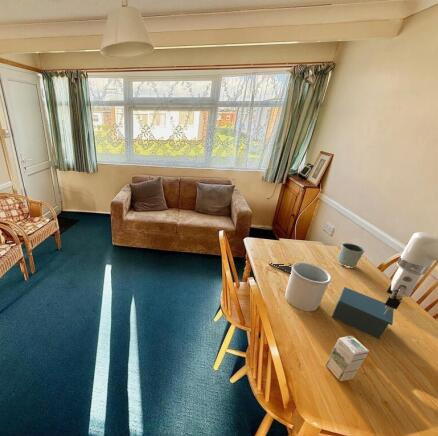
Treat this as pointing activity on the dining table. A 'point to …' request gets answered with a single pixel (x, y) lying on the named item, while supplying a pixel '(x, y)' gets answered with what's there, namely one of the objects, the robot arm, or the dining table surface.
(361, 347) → the syrup box
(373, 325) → the chest
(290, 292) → the utensil holder
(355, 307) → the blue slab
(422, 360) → the dining table surface
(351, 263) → the grey-green pot
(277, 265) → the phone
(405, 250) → the robot arm
